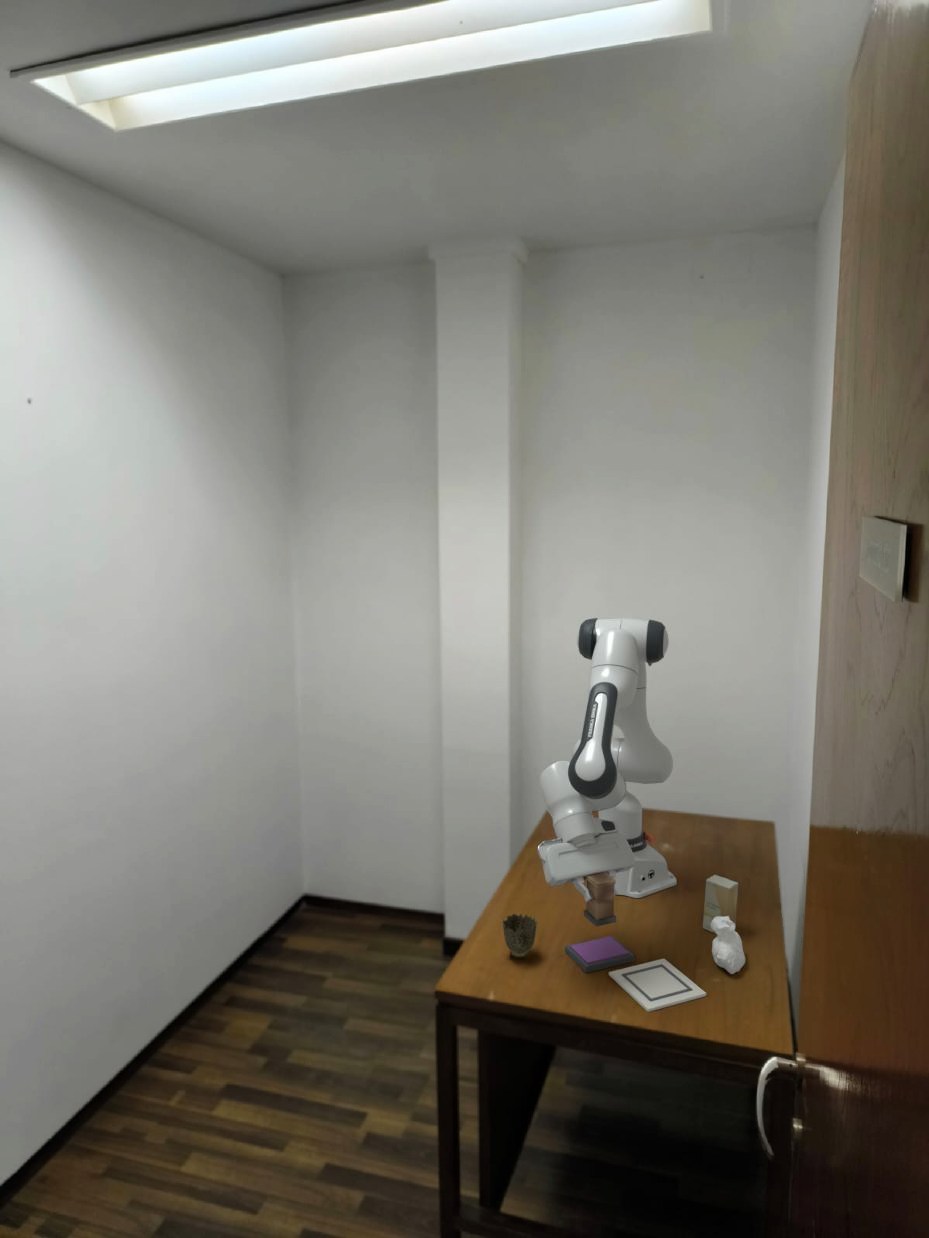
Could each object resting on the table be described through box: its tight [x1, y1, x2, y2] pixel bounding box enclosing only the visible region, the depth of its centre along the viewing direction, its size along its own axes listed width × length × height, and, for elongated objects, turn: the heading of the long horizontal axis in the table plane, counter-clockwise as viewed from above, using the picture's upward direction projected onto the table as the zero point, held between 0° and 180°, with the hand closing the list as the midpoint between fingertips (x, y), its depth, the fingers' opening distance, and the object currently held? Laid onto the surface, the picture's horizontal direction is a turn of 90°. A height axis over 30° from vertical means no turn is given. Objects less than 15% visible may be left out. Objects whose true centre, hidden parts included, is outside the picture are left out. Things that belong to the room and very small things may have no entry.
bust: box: [711, 916, 746, 975], centre depth 175 cm, size 12×8×11 cm
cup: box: [502, 913, 538, 960], centre depth 178 cm, size 8×7×8 cm
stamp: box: [583, 872, 617, 928], centre depth 166 cm, size 5×5×9 cm
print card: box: [608, 958, 707, 1013], centre depth 167 cm, size 14×14×1 cm
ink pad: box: [564, 935, 635, 974], centre depth 178 cm, size 12×9×2 cm
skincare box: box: [702, 874, 739, 935], centre depth 188 cm, size 6×4×12 cm
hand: (601, 897), depth 166 cm, fingers closed on stamp, 4 cm apart
